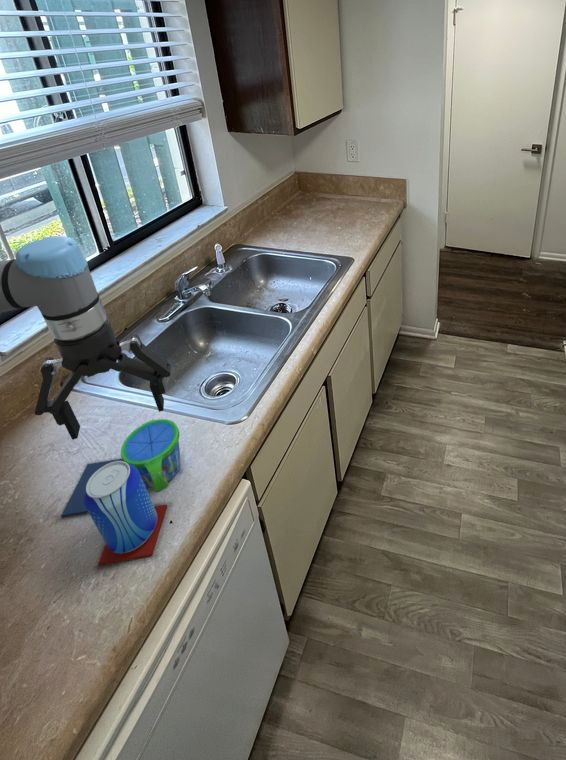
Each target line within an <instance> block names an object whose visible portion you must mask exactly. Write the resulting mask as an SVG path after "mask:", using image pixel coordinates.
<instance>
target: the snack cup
mask: <svg viewBox="0 0 566 760" xmlns="http://www.w3.org/2000/svg"><path fill="white" fill-rule="evenodd" d="M179 440H180V429H179V427H178V425H177V424H176V422H175V421H173V420H171V419H167V418H159V419H152V420H149V421H146V422H144V423H142V424H141V425H140V426H138V427H137V428H135V429H134V430H132V432H131V433H130V434H129V435H128V436H127V437H126V438H125V439H124V442H123V443H122V446H121V448H120V457H121V459H122V460H123V461H124V462H126V463H127V464H129V465H133V466H134V467H136V468H137V469H138V471H139V473H140V476H141V478H142V480H143V482H144V485H145V487H146V488H147V487H149V488H150V487H151V488H153V489H152V490H153V492H154V493H160V492H161V491H163V490H166V489H167V488H168V487H169V485H170V483H169V482H170V481H171V480H172V479H174V477H176V475H177V474H178V472H179V471H180V469H181V460H182V459H181V451H180V441H179Z"/></svg>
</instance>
